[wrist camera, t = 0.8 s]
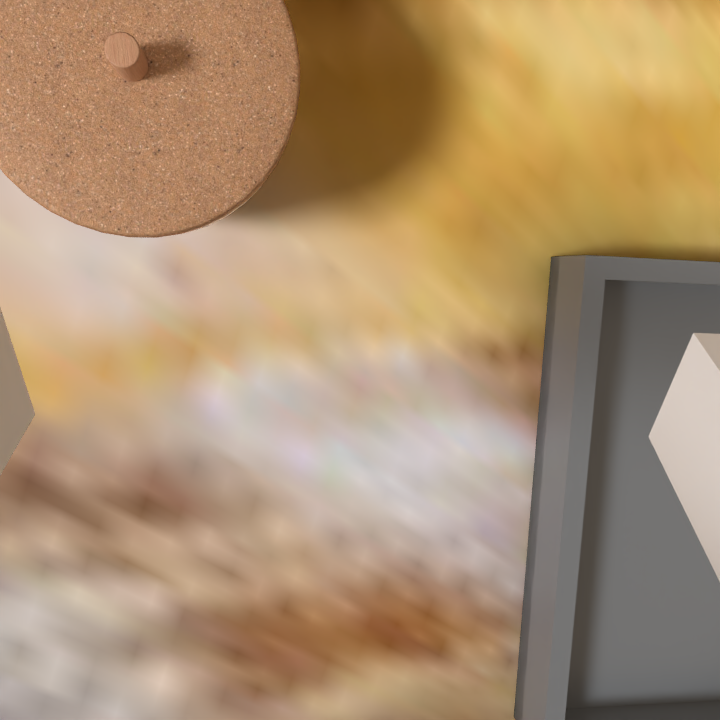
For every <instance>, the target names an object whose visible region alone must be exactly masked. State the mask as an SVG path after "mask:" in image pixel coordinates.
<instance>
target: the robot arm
mask: <svg viewBox="0 0 720 720" xmlns="http://www.w3.org/2000/svg"><path fill="white" fill-rule="evenodd" d="M34 416H35V412H34V409H33V406H32V403H31V400H30V397H29V394H28V391H27V388H26V385H25V382H24V378H23V375H22V372H21V369H20V366H19V363H18V360H17V357H16V354H15V351H14V348H13V345H12V342H11V339H10V336H9V333H8V330H7V327H6V324H5V321H4V318H3V315H2V312H1V309H0V475H1V473H2V471H3V470H4V468H5V466H6V464H7V463H8V461H9V459H10V457H11V456H12V454H13V452H14V450H15V449H16V447H17V445H18V443H19V442H20V440H21V438H22V436H23V435H24V433H25V431H26V429H27V428H28V426H29V424H30V422H31V421H32V419H33V417H34ZM648 437H649V439H650V441H651V443H652V445H653V447H654V449H655V451H656V453H657V455H658V457H659V459H660V461H661V463H662V465H663V467H664V469H665V471H666V473H667V476H668V478H669V480H670V482H671V484H672V486H673V488H674V490H675V492H676V494H677V496H678V498H679V500H680V502H681V504H682V506H683V508H684V510H685V512H686V514H687V516H688V518H689V520H690V522H691V524H692V526H693V528H694V530H695V533H696V535H697V537H698V539H699V541H700V543H701V545H702V547H703V549H704V551H705V553H706V555H707V557H708V559H709V561H710V563H711V565H712V567H713V569H714V571H715V573H716V575H717V577H718V579H719V581H720V334H710V333H693V335H692V337H691V339H690V342H689V344H688V346H687V349H686V351H685V353H684V356H683V358H682V360H681V362H680V365H679V367H678V369H677V372H676V374H675V376H674V379H673V381H672V383H671V386H670V388H669V390H668V392H667V395H666V397H665V399H664V402H663V404H662V406H661V409H660V411H659V413H658V416H657V418H656V420H655V423H654V425H653V427H652V429H651V432H650V434H649V436H648Z"/></svg>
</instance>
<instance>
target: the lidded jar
mask: <svg viewBox="0 0 720 720" xmlns="http://www.w3.org/2000/svg"><path fill="white" fill-rule="evenodd" d="M299 93H300V60H299V53H298V47H297V41H296V35H295V32H294V29H293V25H292V22H291V19H290V16H289V12H288V9H287V7H286V5H285V3H284V1H283V0H0V169H1V170H2V171H3V173H4V174H5V175H6V176H7V177H8V178H9V179H10V180H11V181H12V182H13V183H14V184H15V185H16V186H18V187H19V188H20V189H21V190H22V191H23V192H24V193H25V194H26V195H27V196H29V197H30V198H32V199H33V200H35V201H36V202H37V203H39V204H40V205H42V206H43V207H45V208H46V209H47V210H49V211H51V212H53V213H55V214H57V215H59V216H61V217H63V218H65V219H67V220H69V221H71V222H73V223H75V224H78V225H81V226H84V227H87V228H90V229H93V230H96V231H99V232H102V233H108V234H114V235H120V236H126V237H162V236H169V235H176V234H182V233H187V232H191V231H194V230H197V229H200V228H203V227H207V226H209V225H211V224H213V223H215V222H217V221H219V220H221V219H223V218H225V217H227V216H228V215H230V214H231V213H233V212H234V211H235V210H237V209H238V208H239V207H241V206H242V205H244V204H245V203H246V202H247V201H248V200H249V199H250V198H251V197H252V196H253V195H254V194H255V193H256V192H257V191H258V190H259V189H260V188H261V186H262V185H263V184H264V182H265V181H266V179H267V178H268V177H269V175H270V174H271V172H272V171H273V170H274V168H275V167H276V165H277V164H278V162H279V160H280V158H281V156H282V154H283V152H284V150H285V148H286V146H287V144H288V141H289V138H290V135H291V131H292V128H293V125H294V122H295V118H296V114H297V107H298V100H299Z"/></svg>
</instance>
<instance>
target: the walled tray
mask: <svg viewBox="0 0 720 720" xmlns="http://www.w3.org/2000/svg"><path fill="white" fill-rule="evenodd" d="M693 333H710V334H720V262H706V261H687V260H668V259H649V258H630V257H611V256H592V255H578V256H555V257H551V266H550V278H549V291H548V303H547V315H546V328H545V340H544V352H543V365H542V377H541V389H540V401H539V414H538V426H537V438H536V451H535V463H534V475H533V488H532V500H531V512H530V524H529V537H528V549H527V561H526V574H525V586H524V598H523V611H522V623H521V635H520V647H519V660H518V672H517V684H516V697H515V709H514V717H515V719H516V720H720V581H719V579H718V577H717V575H716V573H715V571H714V569H713V567H712V565H711V563H710V561H709V559H708V557H707V555H706V553H705V551H704V549H703V547H702V545H701V543H700V541H699V539H698V537H697V535H696V533H695V530H694V528H693V526H692V524H691V522H690V520H689V518H688V516H687V514H686V512H685V510H684V508H683V506H682V504H681V502H680V500H679V498H678V496H677V494H676V492H675V490H674V488H673V486H672V484H671V482H670V480H669V478H668V476H667V473H666V471H665V469H664V467H663V465H662V463H661V461H660V459H659V457H658V455H657V453H656V451H655V449H654V447H653V445H652V443H651V441H650V439H649V437H648V436H649V434H650V432H651V429H652V427H653V425H654V423H655V420H656V418H657V416H658V413H659V411H660V409H661V406H662V404H663V402H664V399H665V397H666V395H667V392H668V390H669V388H670V386H671V383H672V381H673V379H674V376H675V374H676V372H677V369H678V367H679V365H680V362H681V360H682V358H683V356H684V353H685V351H686V349H687V346H688V344H689V342H690V339H691V337H692V335H693Z"/></svg>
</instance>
